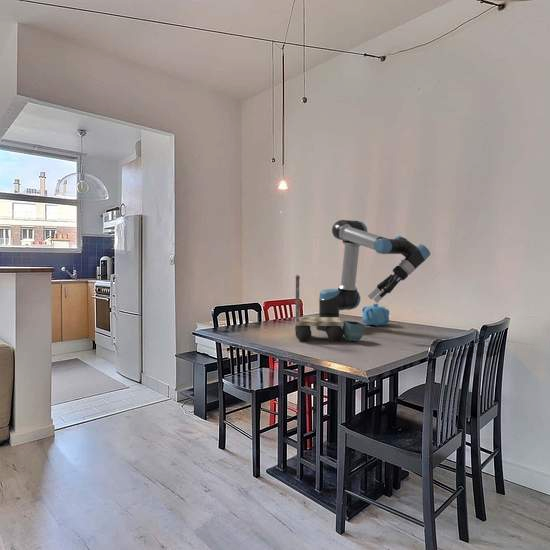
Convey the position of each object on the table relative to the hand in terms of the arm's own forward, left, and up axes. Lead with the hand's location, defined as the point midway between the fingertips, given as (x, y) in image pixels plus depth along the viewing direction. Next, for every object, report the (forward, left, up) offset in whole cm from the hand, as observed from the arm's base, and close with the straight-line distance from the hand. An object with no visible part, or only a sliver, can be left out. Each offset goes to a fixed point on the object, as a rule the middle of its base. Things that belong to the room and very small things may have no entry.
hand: (372, 299), depth 202 cm
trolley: (+23, -14, -21) cm, 34 cm away
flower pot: (+10, -2, -21) cm, 23 cm away
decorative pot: (-29, -43, -21) cm, 56 cm away
